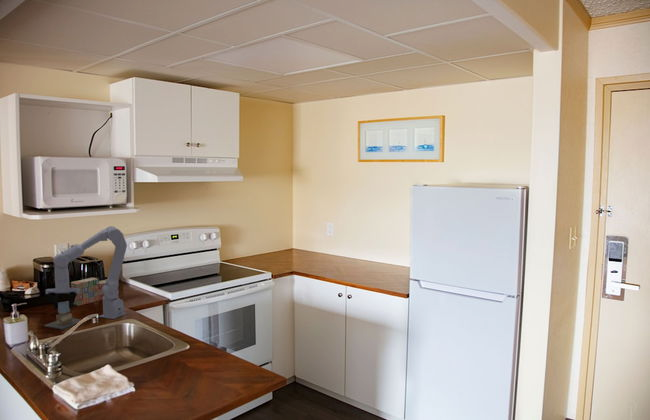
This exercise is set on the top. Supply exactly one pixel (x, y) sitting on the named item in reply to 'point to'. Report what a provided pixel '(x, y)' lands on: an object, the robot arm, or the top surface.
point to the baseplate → (60, 326)
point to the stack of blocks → (88, 290)
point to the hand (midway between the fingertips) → (63, 308)
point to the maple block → (64, 318)
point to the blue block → (63, 307)
